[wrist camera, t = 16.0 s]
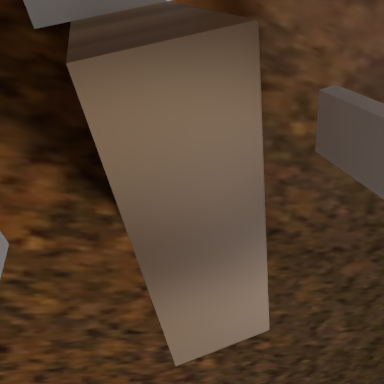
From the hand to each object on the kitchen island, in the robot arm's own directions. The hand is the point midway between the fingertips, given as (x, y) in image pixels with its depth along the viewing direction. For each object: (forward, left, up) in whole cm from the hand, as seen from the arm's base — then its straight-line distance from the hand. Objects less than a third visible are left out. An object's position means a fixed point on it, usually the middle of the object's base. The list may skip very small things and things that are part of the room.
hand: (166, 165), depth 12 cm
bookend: (0, +4, -3) cm, 5 cm away
